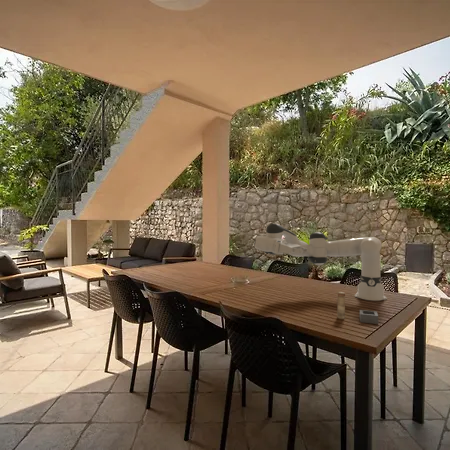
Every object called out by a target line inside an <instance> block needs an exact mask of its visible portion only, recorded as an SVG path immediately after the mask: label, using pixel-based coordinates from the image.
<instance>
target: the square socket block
mask: <svg viewBox="0 0 450 450" xmlns="http://www.w3.org/2000/svg"><path fill="white" fill-rule="evenodd" d="M358 318H359V322H360V323H366V324H374V325H375V324H376V325H379V313H378V312H377V311H376V310H367V309H359V317H358Z"/></svg>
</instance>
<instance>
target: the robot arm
mask: <svg viewBox="0 0 450 450" xmlns="http://www.w3.org/2000/svg"><path fill="white" fill-rule="evenodd" d="M265 233H266V235H264V236H263V235H257V236H256V237H255V239H254V244H253V245H254V249H256V250H259V251H262V252H264V253H265V254H269V255H273V256H274V255H282V256H283V255H284V254H286V255H287V254H288V255H290V256H291V257H297V258H300V257H301V258H302V257H308V258H307V260H309V261H310V263H311V264H313V265H316V266H322V265H325V264H327V261H328V257H334V258H335V257H337V258H338V257H339V258H340V257H342V258H343V257H356V256H360V258H361V259H360V260H361V275H360V282H359V283H358V284H357V288H356V290H357V292H356V293H355V294H354V297H355V298H358V299H362V300H365V301H372V302H373V301H379V302H380V301H383V300H387V299H388V297H387V296H385V291H384V287H385V286H384V285H383V284H382V276H381V255H380V254H381V252H380V251H381V250H382V247H383V245H382V241H381V239H379V238H377V237H375V236H369V237H358V238H348V239H340V240H339V239H338V240H331V241H327V240H329V238H328V237H327V236H326V234H324V233H322V232H319V231H315V232H313V233H311V234H310V235H309V236H308V239H309V242H308V243H307V242H305V241H304V240H300V239H299V238H298V236H297V234H296V233H294V232H293V231H291V230H289V229H287V228H285V227H284V226H282V225H281V224H278V223H275V222H273V223H269V224H268V225H267V227H266V232H265ZM283 237H284V238H283Z"/></svg>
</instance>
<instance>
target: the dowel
mask: <svg viewBox="0 0 450 450" xmlns="http://www.w3.org/2000/svg"><path fill="white" fill-rule="evenodd" d="M336 315H337V317H336V318H337V319H340V320H344V319H345V318H346V292H343V291H337V313H336ZM345 320H346V319H345Z"/></svg>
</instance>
